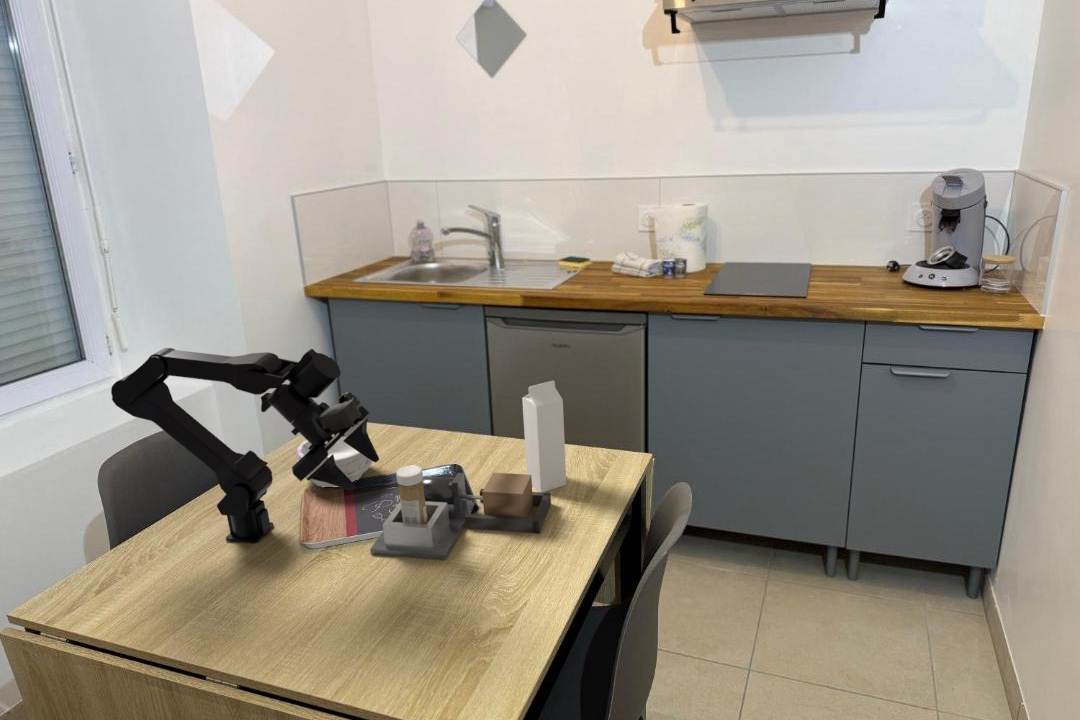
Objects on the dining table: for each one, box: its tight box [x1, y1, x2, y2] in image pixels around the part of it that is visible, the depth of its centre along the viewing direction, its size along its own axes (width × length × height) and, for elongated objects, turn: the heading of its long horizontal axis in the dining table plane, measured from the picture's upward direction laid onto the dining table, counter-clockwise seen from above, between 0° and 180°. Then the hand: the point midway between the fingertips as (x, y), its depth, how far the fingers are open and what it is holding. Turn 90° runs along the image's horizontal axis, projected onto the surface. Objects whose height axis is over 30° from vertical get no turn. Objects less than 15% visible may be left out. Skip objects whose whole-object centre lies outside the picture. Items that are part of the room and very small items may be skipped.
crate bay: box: [465, 472, 552, 534], centre depth 150 cm, size 14×11×7 cm
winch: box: [369, 472, 483, 561], centre depth 146 cm, size 19×19×8 cm
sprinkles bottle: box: [396, 465, 427, 524], centre depth 141 cm, size 5×5×14 cm
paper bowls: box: [296, 434, 373, 487], centre depth 168 cm, size 15×15×8 cm
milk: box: [521, 380, 567, 493], centre depth 159 cm, size 6×6×22 cm
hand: (366, 474), depth 141 cm, fingers open, 9 cm apart
